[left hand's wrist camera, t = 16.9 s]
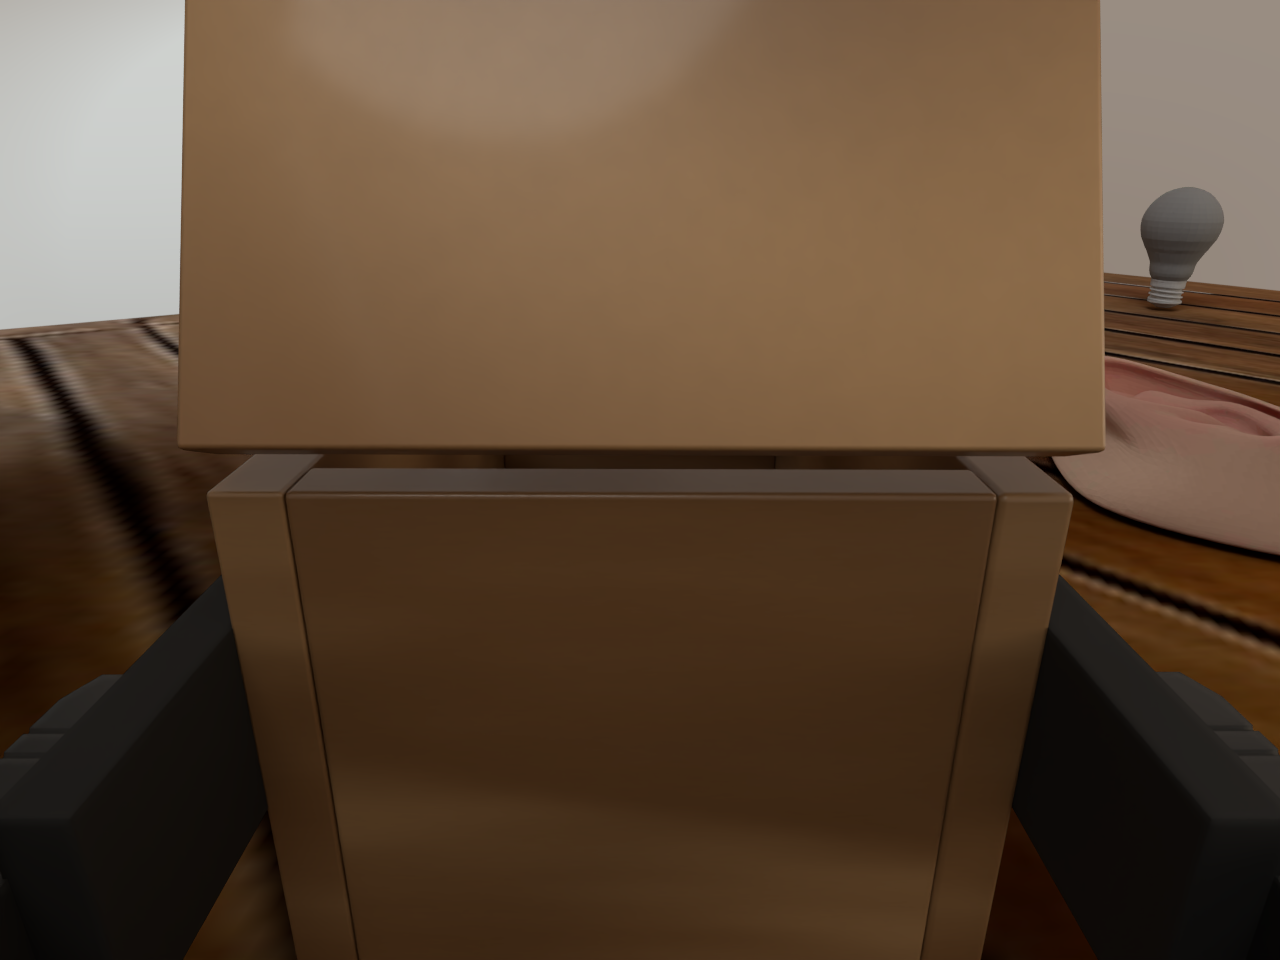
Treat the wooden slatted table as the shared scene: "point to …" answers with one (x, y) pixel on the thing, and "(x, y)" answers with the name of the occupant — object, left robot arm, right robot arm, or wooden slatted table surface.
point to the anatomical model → (1185, 458)
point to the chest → (639, 698)
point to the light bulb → (1178, 239)
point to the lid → (642, 228)
